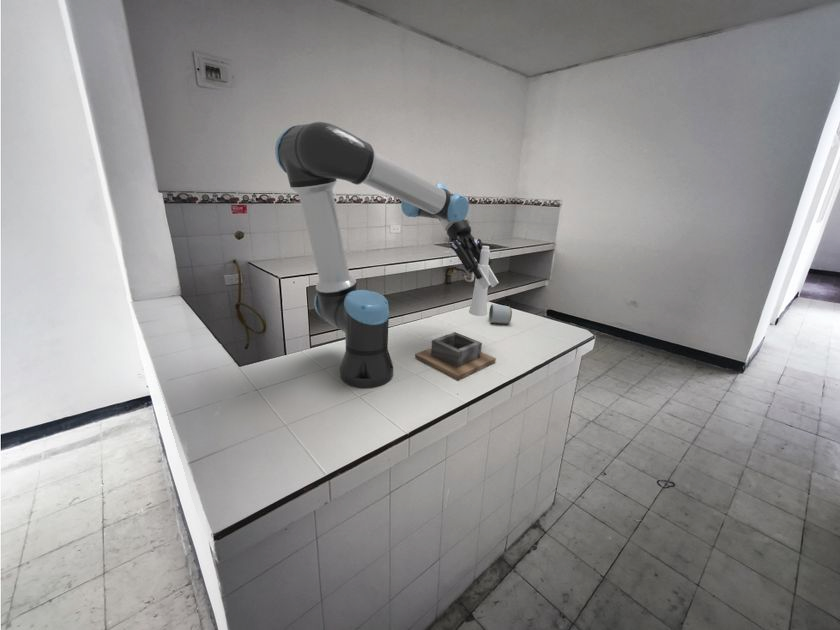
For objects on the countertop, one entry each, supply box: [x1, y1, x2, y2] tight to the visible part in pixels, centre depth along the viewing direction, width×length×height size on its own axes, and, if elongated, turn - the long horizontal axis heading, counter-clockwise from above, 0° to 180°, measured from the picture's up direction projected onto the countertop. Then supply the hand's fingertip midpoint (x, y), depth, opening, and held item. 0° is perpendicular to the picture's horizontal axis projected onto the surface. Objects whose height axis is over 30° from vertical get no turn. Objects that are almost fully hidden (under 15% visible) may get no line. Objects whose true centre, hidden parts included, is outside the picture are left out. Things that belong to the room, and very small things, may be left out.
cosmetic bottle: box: [468, 245, 491, 317], centre depth 118 cm, size 6×6×22 cm
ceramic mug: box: [488, 303, 513, 324], centre depth 151 cm, size 11×8×8 cm
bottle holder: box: [414, 332, 497, 381], centre depth 115 cm, size 18×18×6 cm
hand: (491, 285), depth 116 cm, fingers closed on cosmetic bottle, 4 cm apart
